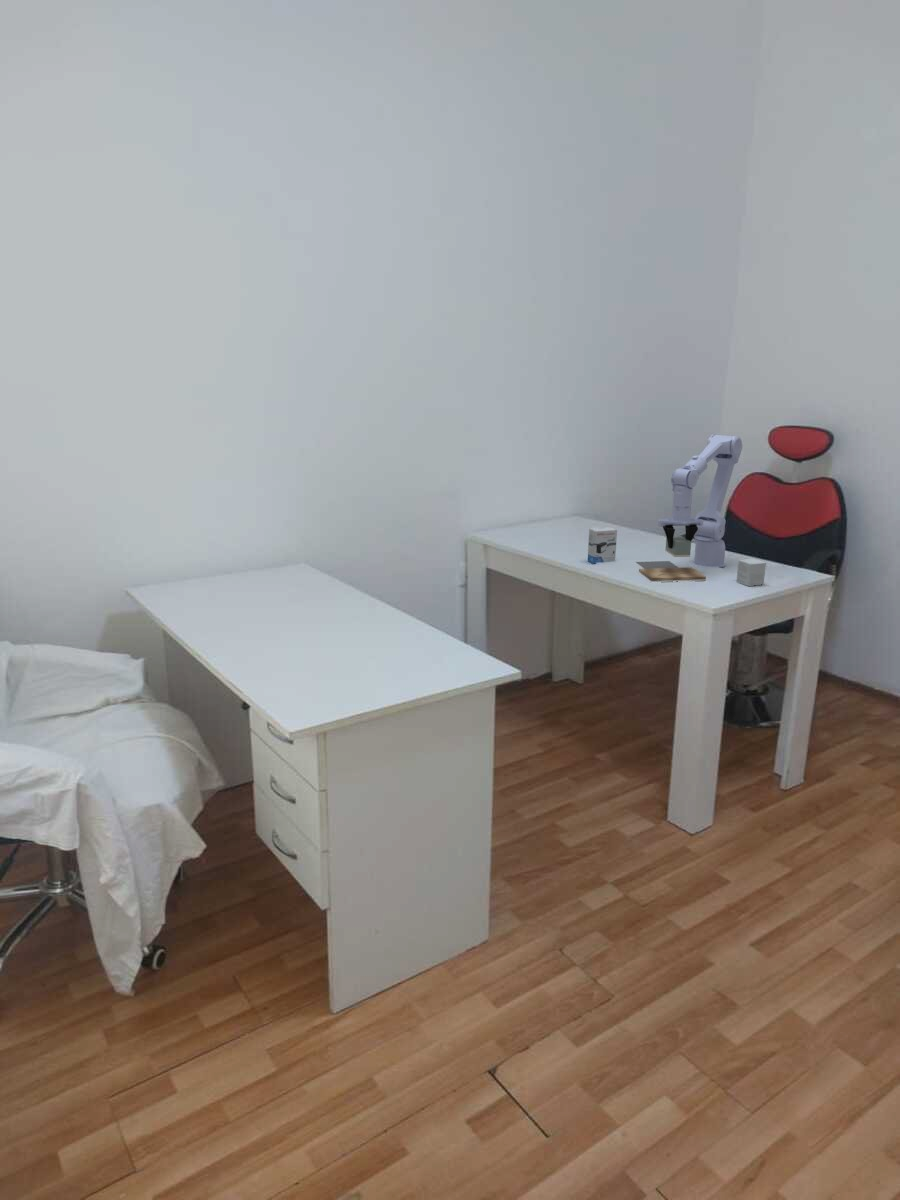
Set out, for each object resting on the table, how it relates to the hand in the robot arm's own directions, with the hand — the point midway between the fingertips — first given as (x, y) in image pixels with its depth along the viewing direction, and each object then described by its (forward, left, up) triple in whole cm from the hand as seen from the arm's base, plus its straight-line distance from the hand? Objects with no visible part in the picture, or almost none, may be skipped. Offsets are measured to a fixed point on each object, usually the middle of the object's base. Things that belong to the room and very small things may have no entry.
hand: (678, 547), depth 287 cm
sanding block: (0, -1, -2) cm, 2 cm away
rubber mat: (+3, -10, -9) cm, 13 cm away
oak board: (+3, +3, -9) cm, 10 cm away
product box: (-19, +13, -9) cm, 25 cm away
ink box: (+20, -19, -9) cm, 29 cm away
